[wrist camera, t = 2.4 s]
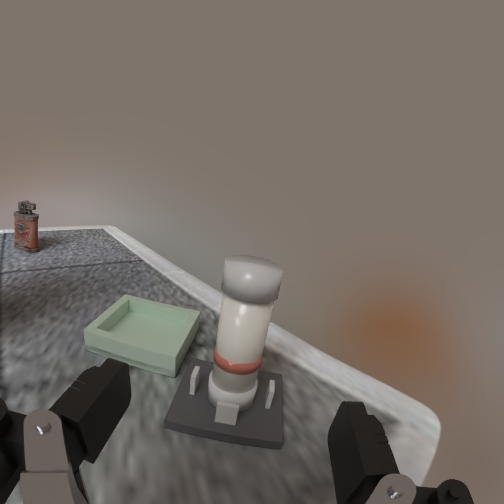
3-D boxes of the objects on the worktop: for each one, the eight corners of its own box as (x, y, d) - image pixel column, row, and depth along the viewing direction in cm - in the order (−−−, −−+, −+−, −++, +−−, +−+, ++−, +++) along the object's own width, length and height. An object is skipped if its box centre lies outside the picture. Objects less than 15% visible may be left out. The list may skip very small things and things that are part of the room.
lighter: (11, 246, 47) (11, 200, 45) (22, 243, 50) (22, 198, 48) (30, 254, 46) (30, 204, 43) (42, 251, 49) (42, 202, 47)
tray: (86, 349, 26) (83, 329, 25) (125, 311, 35) (125, 294, 35) (174, 377, 25) (175, 357, 25) (198, 329, 35) (200, 311, 35)
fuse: (202, 406, 21) (220, 267, 18) (211, 378, 25) (229, 251, 22) (252, 416, 21) (284, 278, 18) (255, 386, 25) (282, 261, 22)
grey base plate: (164, 427, 19) (163, 402, 18) (191, 365, 28) (193, 341, 27) (279, 449, 19) (289, 425, 18) (279, 381, 28) (286, 358, 27)
